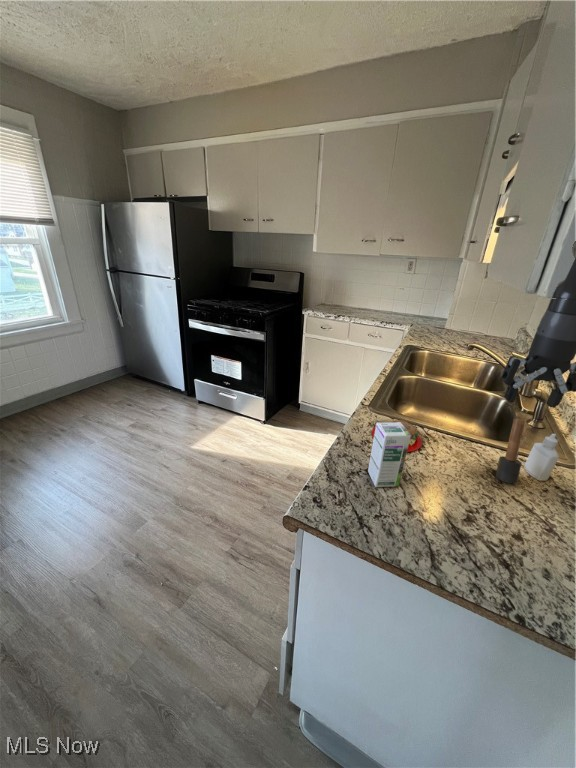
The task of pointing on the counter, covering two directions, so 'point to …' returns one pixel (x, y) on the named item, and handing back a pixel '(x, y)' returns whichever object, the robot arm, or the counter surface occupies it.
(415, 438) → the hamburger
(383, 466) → the syrup box
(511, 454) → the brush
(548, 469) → the eye dropper bottle
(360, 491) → the counter surface
